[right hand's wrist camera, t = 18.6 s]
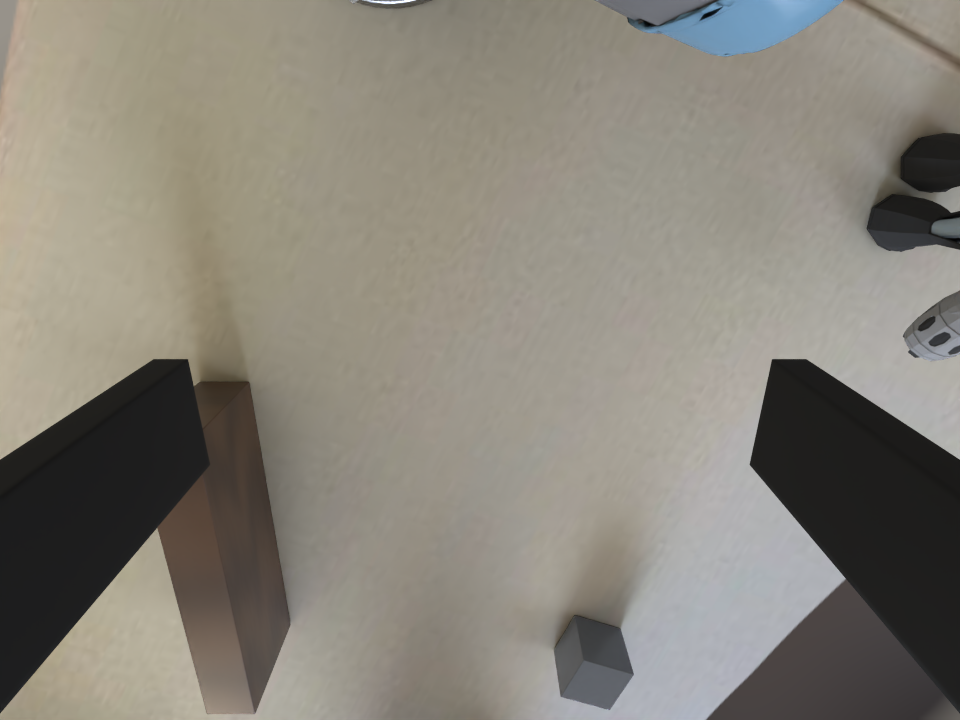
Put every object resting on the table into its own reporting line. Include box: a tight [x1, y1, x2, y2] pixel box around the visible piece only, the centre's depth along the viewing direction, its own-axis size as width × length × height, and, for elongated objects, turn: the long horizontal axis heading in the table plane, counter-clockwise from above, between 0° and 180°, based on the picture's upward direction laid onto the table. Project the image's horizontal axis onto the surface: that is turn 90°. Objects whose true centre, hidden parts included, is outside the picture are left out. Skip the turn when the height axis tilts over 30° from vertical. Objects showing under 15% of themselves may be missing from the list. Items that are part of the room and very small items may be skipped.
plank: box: [157, 382, 290, 714], centre depth 44 cm, size 26×4×9 cm, turn 0°
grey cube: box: [554, 615, 634, 710], centre depth 51 cm, size 5×5×5 cm
